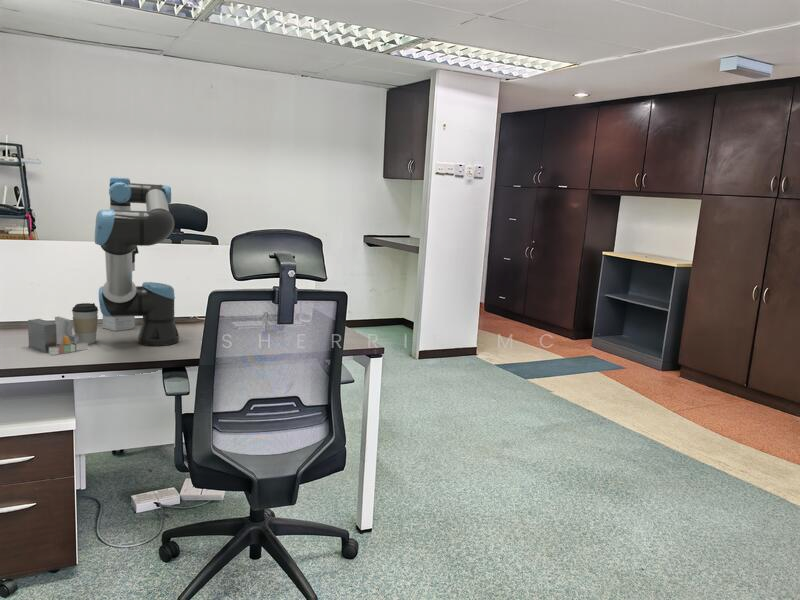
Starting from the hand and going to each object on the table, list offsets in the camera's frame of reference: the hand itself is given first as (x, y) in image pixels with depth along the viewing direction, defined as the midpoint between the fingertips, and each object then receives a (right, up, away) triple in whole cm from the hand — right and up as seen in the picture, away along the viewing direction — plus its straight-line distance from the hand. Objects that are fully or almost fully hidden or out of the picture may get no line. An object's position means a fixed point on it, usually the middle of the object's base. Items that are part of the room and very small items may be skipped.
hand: (121, 269), depth 248 cm
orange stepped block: (-6, -28, -28) cm, 41 cm away
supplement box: (-7, -25, +13) cm, 29 cm away
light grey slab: (-10, -30, -21) cm, 38 cm away
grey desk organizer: (-12, -30, -24) cm, 40 cm away
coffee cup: (-8, -29, -13) cm, 33 cm away
